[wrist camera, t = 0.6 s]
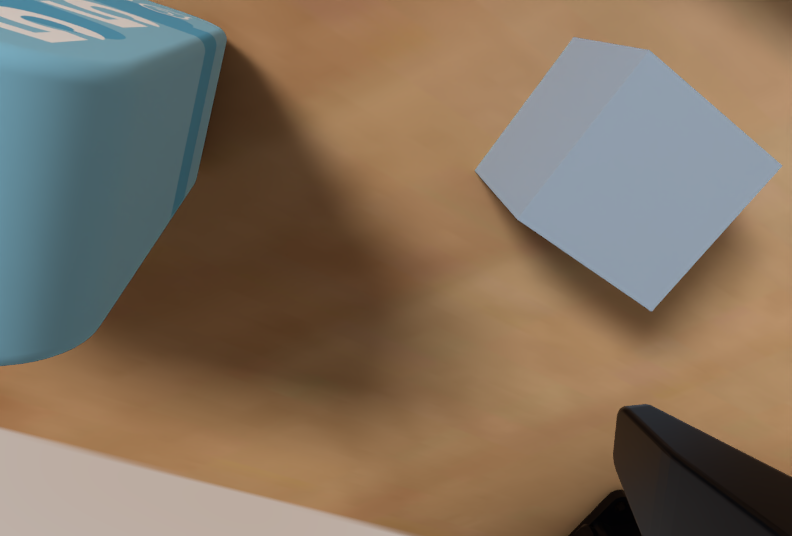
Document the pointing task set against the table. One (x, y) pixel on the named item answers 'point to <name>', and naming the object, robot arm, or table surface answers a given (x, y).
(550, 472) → the table surface
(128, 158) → the data package
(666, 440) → the robot arm
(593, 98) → the blue cube
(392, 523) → the table surface
